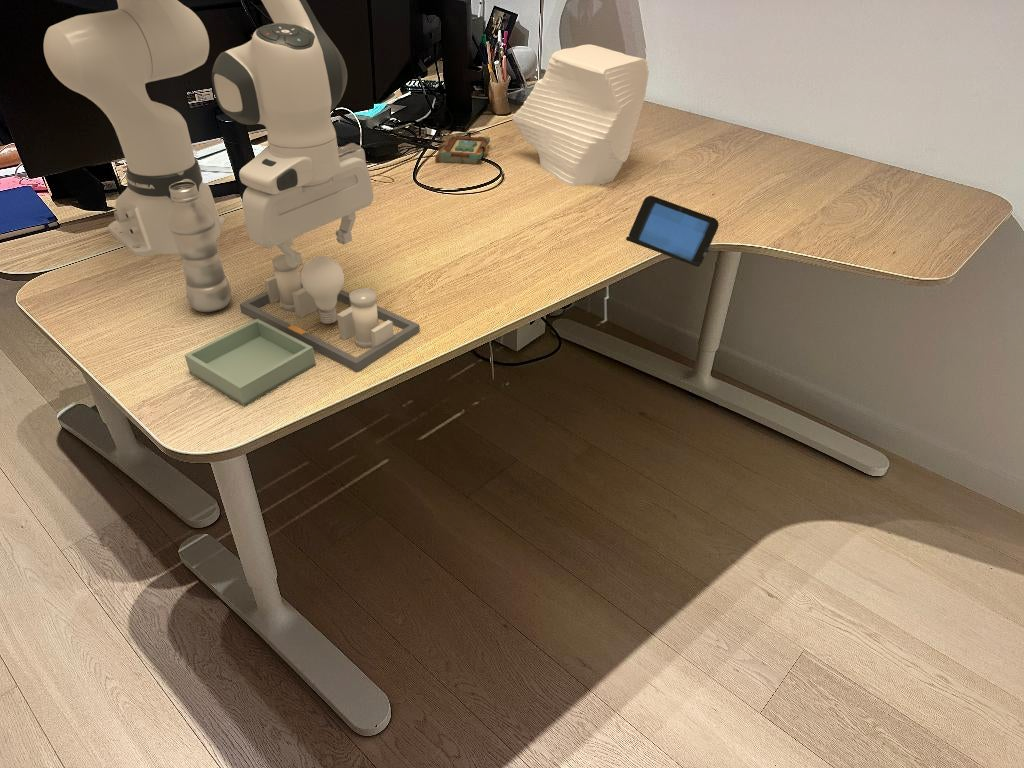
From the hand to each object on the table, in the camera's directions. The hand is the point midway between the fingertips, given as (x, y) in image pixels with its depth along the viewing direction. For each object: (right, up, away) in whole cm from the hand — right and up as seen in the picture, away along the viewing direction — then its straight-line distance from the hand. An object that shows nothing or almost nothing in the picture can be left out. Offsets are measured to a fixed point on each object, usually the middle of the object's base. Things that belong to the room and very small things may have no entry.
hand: (320, 253), depth 108 cm
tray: (-9, -17, -3) cm, 19 cm away
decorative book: (+17, +31, +64) cm, 73 cm away
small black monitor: (+53, +2, +26) cm, 59 cm away
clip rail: (0, -9, +7) cm, 12 cm away
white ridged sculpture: (+43, +28, +60) cm, 79 cm away
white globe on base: (-7, -6, +11) cm, 15 cm away
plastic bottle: (-20, -7, +11) cm, 23 cm away
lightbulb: (0, -10, +7) cm, 12 cm away
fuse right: (+6, -13, +3) cm, 14 cm away
